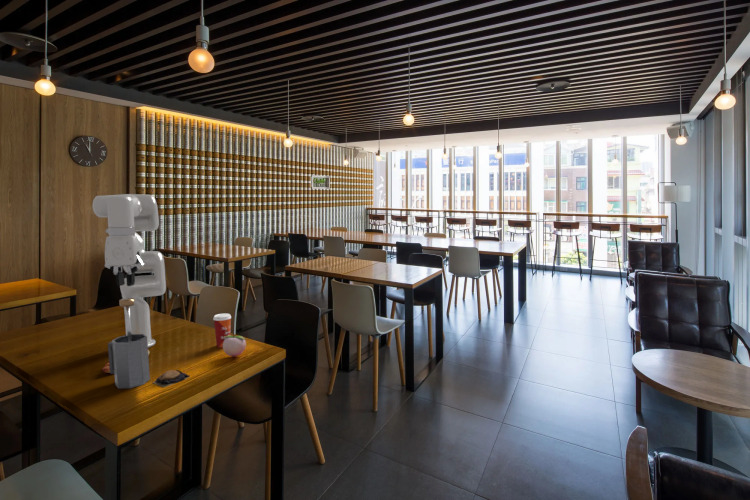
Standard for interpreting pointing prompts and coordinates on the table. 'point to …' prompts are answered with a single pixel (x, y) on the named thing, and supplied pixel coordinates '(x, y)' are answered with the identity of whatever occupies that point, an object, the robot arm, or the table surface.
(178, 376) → the abalone
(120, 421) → the table surface
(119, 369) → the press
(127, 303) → the plunger
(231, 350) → the decorative fruit
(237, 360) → the table surface
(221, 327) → the paper cup
